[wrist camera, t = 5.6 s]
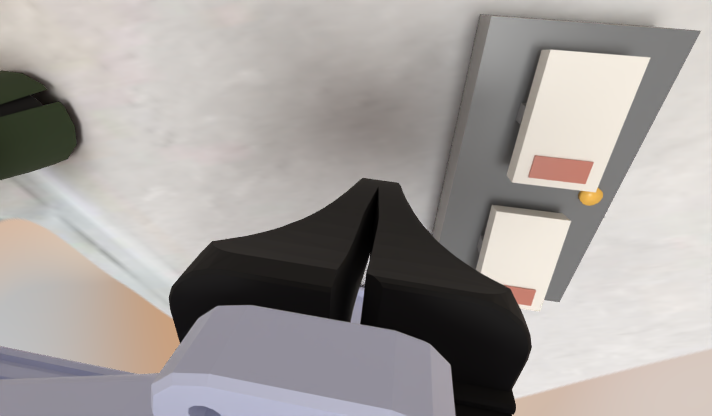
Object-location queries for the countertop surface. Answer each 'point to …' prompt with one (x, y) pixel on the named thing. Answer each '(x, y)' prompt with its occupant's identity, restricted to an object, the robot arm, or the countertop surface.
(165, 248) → the countertop surface
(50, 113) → the character mug
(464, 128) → the double switch panel
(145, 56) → the countertop surface
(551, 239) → the rocker
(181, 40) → the countertop surface
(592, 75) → the rocker
